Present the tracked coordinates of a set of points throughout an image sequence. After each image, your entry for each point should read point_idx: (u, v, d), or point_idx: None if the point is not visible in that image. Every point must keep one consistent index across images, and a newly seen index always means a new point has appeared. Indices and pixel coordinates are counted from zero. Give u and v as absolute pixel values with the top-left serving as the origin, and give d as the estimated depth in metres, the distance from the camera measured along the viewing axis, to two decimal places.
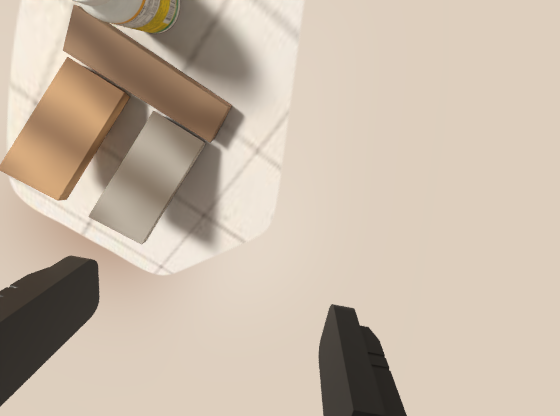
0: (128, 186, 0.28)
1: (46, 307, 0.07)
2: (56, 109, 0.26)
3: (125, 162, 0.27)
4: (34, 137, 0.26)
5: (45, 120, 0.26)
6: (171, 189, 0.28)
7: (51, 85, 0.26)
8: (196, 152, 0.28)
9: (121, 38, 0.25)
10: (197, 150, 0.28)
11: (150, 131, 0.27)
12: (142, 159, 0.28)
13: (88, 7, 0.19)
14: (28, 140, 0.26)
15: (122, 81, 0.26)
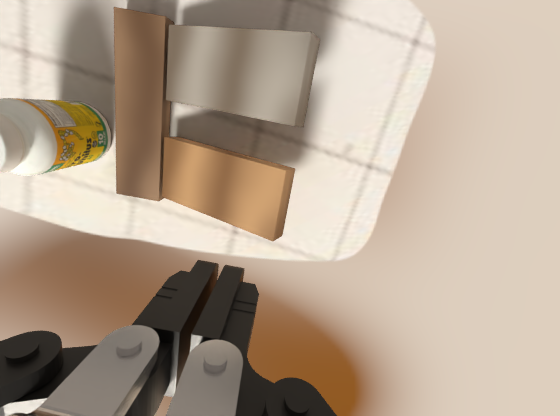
0: (243, 90, 0.20)
1: (200, 306, 0.09)
2: (200, 195, 0.24)
3: (220, 106, 0.21)
4: (231, 210, 0.23)
5: (213, 204, 0.23)
6: (228, 32, 0.19)
7: (186, 205, 0.25)
8: (181, 26, 0.21)
9: (117, 147, 0.25)
10: (178, 26, 0.21)
11: (183, 93, 0.22)
12: (210, 88, 0.21)
13: (38, 143, 0.19)
14: (235, 215, 0.22)
15: (154, 140, 0.24)
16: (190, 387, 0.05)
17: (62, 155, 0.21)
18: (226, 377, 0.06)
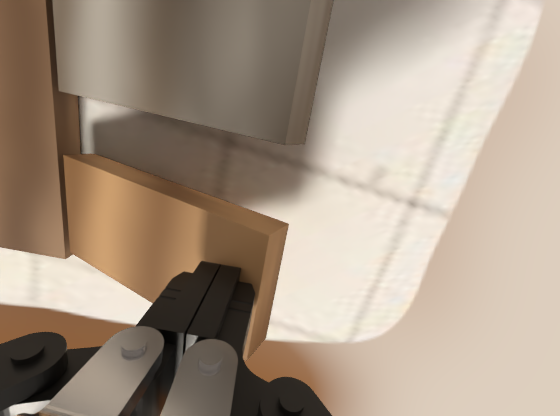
0: (180, 69, 0.10)
1: None
2: (123, 259, 0.14)
3: (141, 102, 0.11)
4: None
5: (143, 276, 0.13)
6: None
7: (104, 270, 0.15)
8: None
9: None
10: None
11: (82, 78, 0.12)
12: (123, 66, 0.11)
13: None
14: None
15: (47, 161, 0.14)
16: (184, 386, 0.05)
17: None
18: (221, 376, 0.06)
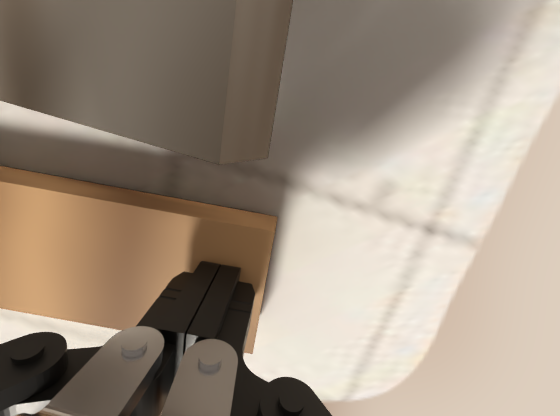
0: (42, 24, 0.05)
1: None
2: (70, 290, 0.11)
3: (2, 88, 0.06)
4: None
5: (106, 304, 0.11)
6: None
7: (34, 311, 0.11)
8: None
9: None
10: None
11: None
12: None
13: None
14: None
15: None
16: (184, 386, 0.05)
17: None
18: (220, 376, 0.06)
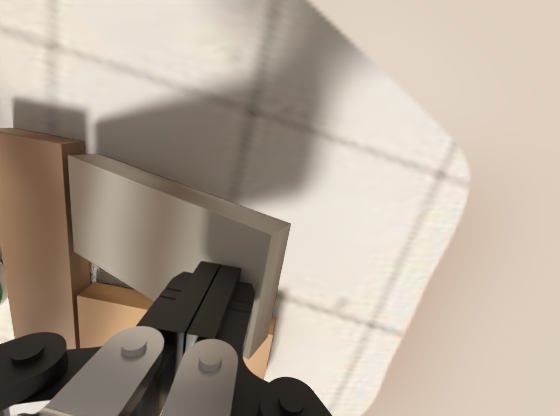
0: None
1: None
2: None
3: (142, 288, 0.14)
4: None
5: None
6: (144, 192, 0.12)
7: None
8: (83, 163, 0.14)
9: (11, 306, 0.17)
10: (80, 162, 0.14)
11: (93, 251, 0.15)
12: (127, 259, 0.14)
13: None
14: None
15: (63, 299, 0.17)
16: (184, 387, 0.05)
17: None
18: (221, 377, 0.06)
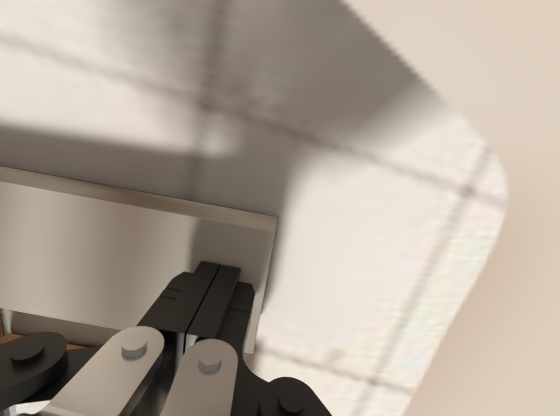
0: (147, 301, 0.11)
1: None
2: None
3: (100, 320, 0.11)
4: None
5: None
6: (97, 207, 0.10)
7: None
8: None
9: None
10: None
11: (5, 294, 0.11)
12: (72, 291, 0.11)
13: None
14: None
15: None
16: (184, 386, 0.05)
17: None
18: (220, 376, 0.06)
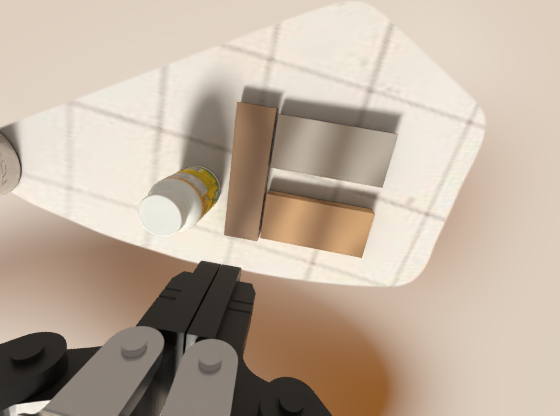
0: (344, 164, 0.29)
1: None
2: (300, 234, 0.32)
3: (323, 174, 0.30)
4: (328, 241, 0.32)
5: (312, 238, 0.32)
6: (334, 126, 0.28)
7: (285, 241, 0.33)
8: (290, 117, 0.28)
9: (228, 201, 0.32)
10: (288, 117, 0.28)
11: (288, 163, 0.30)
12: (315, 161, 0.30)
13: (193, 211, 0.26)
14: (332, 244, 0.32)
15: (258, 196, 0.32)
16: (184, 386, 0.05)
17: (202, 215, 0.28)
18: (221, 376, 0.06)
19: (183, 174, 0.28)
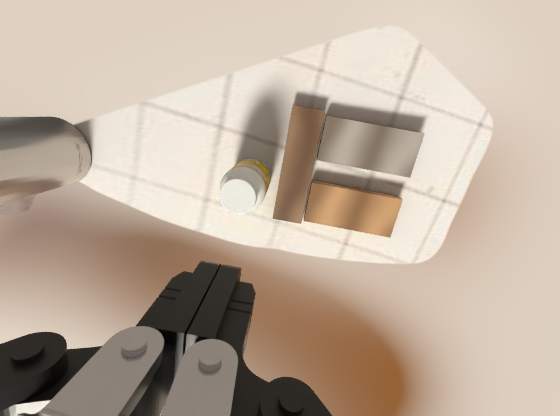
0: (379, 158, 0.35)
1: None
2: (339, 217, 0.38)
3: (361, 166, 0.36)
4: (362, 223, 0.38)
5: (349, 221, 0.38)
6: (372, 126, 0.34)
7: (325, 224, 0.39)
8: (336, 118, 0.34)
9: (279, 188, 0.38)
10: (335, 118, 0.34)
11: (332, 157, 0.36)
12: (355, 155, 0.36)
13: (260, 194, 0.32)
14: (365, 226, 0.38)
15: (305, 184, 0.37)
16: (184, 386, 0.05)
17: None
18: (221, 376, 0.06)
19: (248, 164, 0.34)
